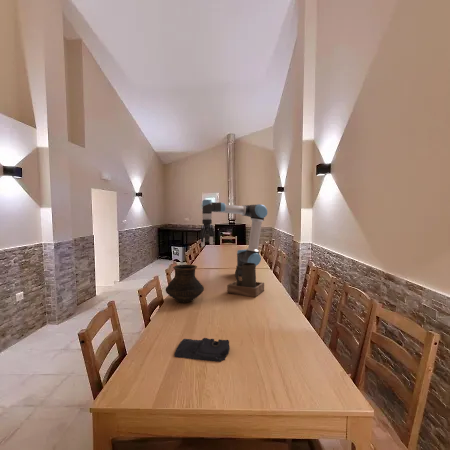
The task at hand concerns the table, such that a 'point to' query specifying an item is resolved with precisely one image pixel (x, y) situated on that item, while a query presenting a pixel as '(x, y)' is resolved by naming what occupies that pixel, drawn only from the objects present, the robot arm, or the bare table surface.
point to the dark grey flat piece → (203, 349)
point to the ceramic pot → (184, 284)
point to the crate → (245, 289)
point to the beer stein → (247, 275)
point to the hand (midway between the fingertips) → (207, 245)
